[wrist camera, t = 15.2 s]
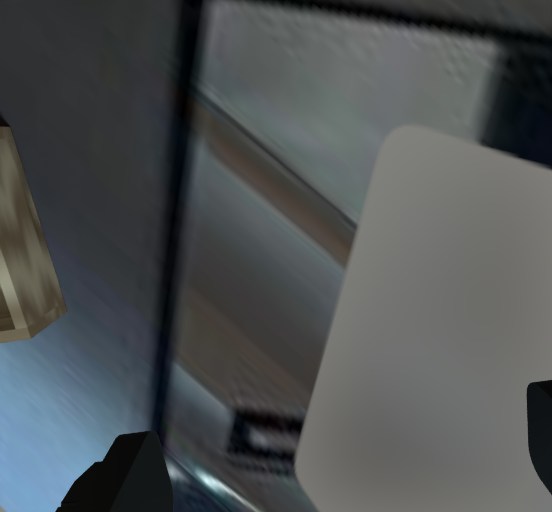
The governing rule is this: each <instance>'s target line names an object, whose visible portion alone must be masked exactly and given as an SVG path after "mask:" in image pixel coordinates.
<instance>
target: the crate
mask: <svg viewBox="0 0 552 512" xmlns="http://www.w3.org/2000/svg"><path fill="white" fill-rule="evenodd" d="M65 312H67V309H66V305H65V302H64V299H63V296H62V292H61V289H60V286H59V283H58V280H57V276H56V273H55V270H54V267H53V263H52V260H51V257H50V254H49V250H48V247H47V244H46V241H45V238H44V234H43V231H42V228H41V225H40V221H39V218H38V215H37V212H36V209H35V205H34V202H33V199H32V196H31V192H30V189H29V186H28V183H27V180H26V176H25V173H24V170H23V167H22V163H21V160H20V157H19V154H18V151H17V147H16V144H15V141H14V138H13V134H12V131H11V128H10V127H0V343H5V342H12V341H19V340H25V339H31V338H33V337H34V336H35V335H36V334H38V333H39V332H40V331H42V330H43V329H44V328H46V327H47V326H48V325H50V324H51V323H52V322H54V321H55V320H56V319H57V318H59V317H60V316H61V315H63V314H64V313H65Z"/></svg>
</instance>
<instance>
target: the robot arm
mask: <svg viewBox="0 0 552 512" xmlns="http://www.w3.org/2000/svg"><path fill="white" fill-rule="evenodd" d="M527 418H528V446H529V453H530V457H531V460H532V463H533V465H534V468H535V470H536V472H537V474H538V476H539V478H540V479H541V481H542V482H543V484H544V485H545V486H546V488H547V489H548V490H549V492H550V493H551V494H552V380H548V381H541V382H532V383H530V384H529V385H528V387H527ZM173 505H174V498H173V489H172V485H171V481H170V477H169V474H168V470H167V466H166V463H165V459H164V456H163V452H162V448H161V445H160V441H159V438H158V436H157V434H156V432H155V431H145V432H138V433H130V434H122V435H119V436H118V437H117V438H116V439H115V441H114V442H113V444H112V446H111V447H110V449H109V451H108V453H107V454H106V456H105V458H104V459H103V461H101V462H95V463H94V464H93V465H92V466H91V467H90V468H88V469H87V470H86V471H85V472H84V473H83V474H82V475H81V476H80V477H79V478H78V479H77V480H76V481H75V482H74V483H73V485H72V486H71V488H70V489H69V491H68V493H67V494H66V496H65V497H64V499H63V500H62V502H61V507H58V508H57V510H56V512H173Z"/></svg>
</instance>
